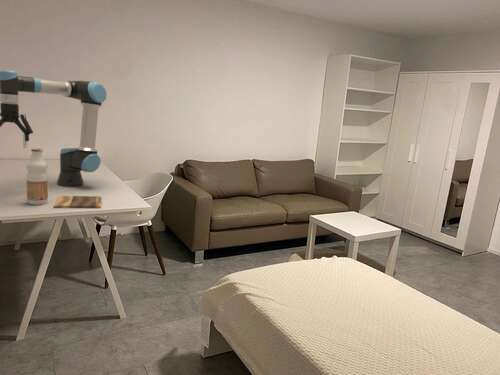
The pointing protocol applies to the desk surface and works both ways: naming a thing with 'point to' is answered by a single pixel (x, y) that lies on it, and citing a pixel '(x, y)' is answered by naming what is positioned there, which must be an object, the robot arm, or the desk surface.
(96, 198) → the floor panel
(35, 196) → the fruit juice
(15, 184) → the desk surface
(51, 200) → the desk surface
